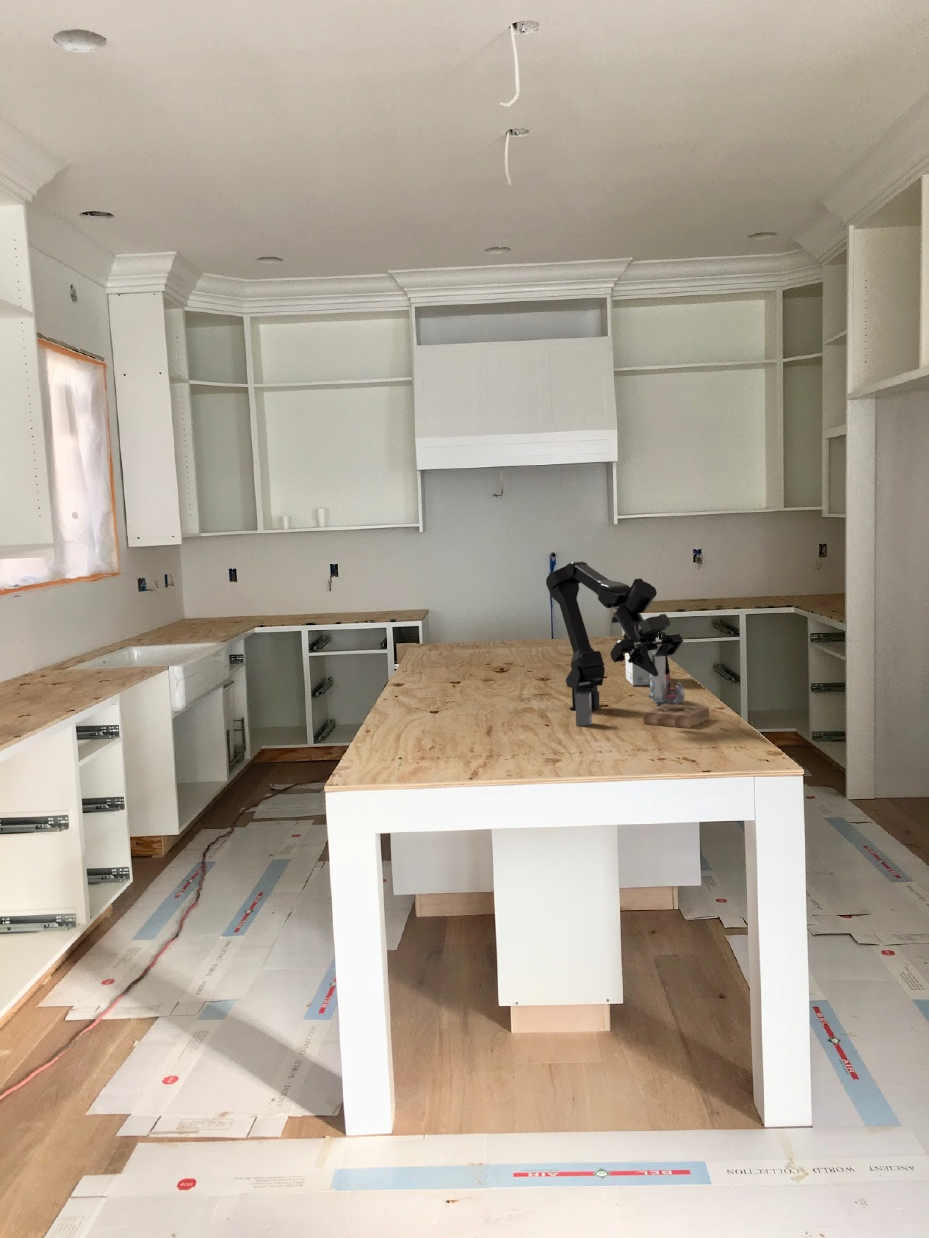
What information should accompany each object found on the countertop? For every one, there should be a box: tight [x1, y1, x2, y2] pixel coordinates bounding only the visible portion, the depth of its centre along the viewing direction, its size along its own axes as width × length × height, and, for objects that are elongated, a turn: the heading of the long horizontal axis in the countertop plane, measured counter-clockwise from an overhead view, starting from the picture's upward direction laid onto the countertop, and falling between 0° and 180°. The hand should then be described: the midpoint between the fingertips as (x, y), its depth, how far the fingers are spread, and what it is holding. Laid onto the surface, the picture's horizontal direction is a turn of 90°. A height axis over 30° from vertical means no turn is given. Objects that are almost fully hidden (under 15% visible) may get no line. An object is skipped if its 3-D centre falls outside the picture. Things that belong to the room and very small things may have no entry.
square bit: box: [575, 692, 593, 727], centre depth 249 cm, size 3×3×8 cm
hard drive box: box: [624, 616, 657, 687], centre depth 308 cm, size 16×8×20 cm, turn 179°
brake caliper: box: [647, 672, 685, 706], centre depth 272 cm, size 11×11×12 cm
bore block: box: [643, 704, 710, 729], centre depth 248 cm, size 12×12×3 cm
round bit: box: [652, 655, 666, 703], centre depth 240 cm, size 3×3×11 cm
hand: (662, 674), depth 239 cm, fingers closed on round bit, 3 cm apart
